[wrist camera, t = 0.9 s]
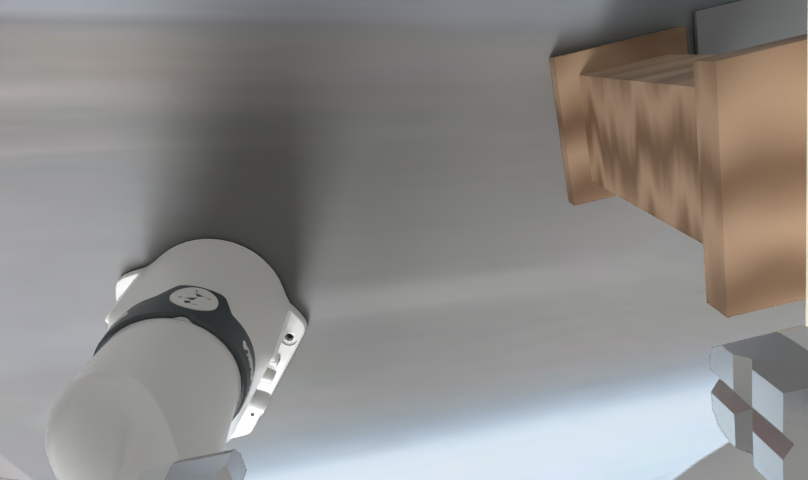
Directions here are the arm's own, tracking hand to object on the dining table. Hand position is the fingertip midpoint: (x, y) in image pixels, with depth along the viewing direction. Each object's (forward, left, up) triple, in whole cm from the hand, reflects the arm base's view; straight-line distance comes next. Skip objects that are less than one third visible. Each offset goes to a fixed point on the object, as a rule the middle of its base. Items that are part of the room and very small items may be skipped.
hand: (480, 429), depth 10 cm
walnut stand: (+7, -21, -45) cm, 51 cm away
